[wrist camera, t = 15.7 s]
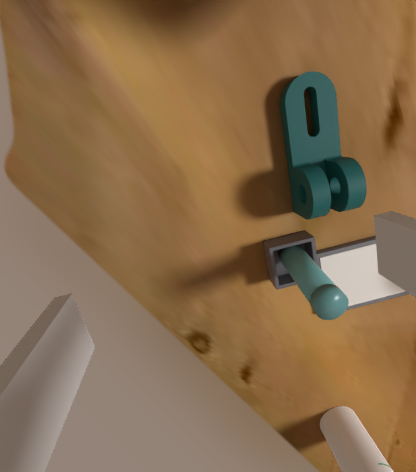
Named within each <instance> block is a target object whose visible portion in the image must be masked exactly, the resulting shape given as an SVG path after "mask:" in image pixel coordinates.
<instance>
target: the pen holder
mask: <svg viewBox="0 0 416 472" xmlns="http://www.w3.org/2000/svg"><path fill="white" fill-rule="evenodd" d="M295 245H299V246H301V247H302V248H303V250H304V251H305V252H306V253H307V254H308V255H309V256H310V257H311V258H312V260H313V261H314V262H315V263H316V264H317V265H318V261H317V254H316V246H315V239H314V237H313V236H312V235H311V234H309V233H308V232H306V231H305V230H304V231H300V232H296V233H292V234H288V235H284V236H280V237H277V238H273V239H269V240H265V241H263V246H264V251H265V257H266V262H267V267H268V273H269V278H270V281H271V282H272V284H273V285H274V287H275V288H276V289H281V288H285V287H289V286H293V285H296V282H295V281H294V280H293V278H292V277H291V275H290V274H289V272H288V271H287V270H286V268H285V267H284V265H283V264H282V262H281V261H280V256H279V255H278V252H277V250H279V249H283V248H287V247H291V246H295Z"/></svg>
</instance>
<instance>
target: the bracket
mask: <svg viewBox="0 0 416 472" xmlns="http://www.w3.org/2000/svg"><path fill="white" fill-rule="evenodd" d="M305 89H306V90H308V91H309V93H310V101H311V111H312V121H313V134H312V135H311V136H309V134H308V131H307V122H306V112H305V103H304V91H305ZM280 109H281V117H282V124H283V132H284V140H285V148H286V155H287V163H288V171H289V179H290V186H291V194H292V202H293V210H294V212H295V213H296V214H298V215H300V216H302V217H303V218H305V219H312V218H316V217H321V216H325V215H327V214H328V212H329V210H330V208H331V209H333V210H335V211H338V212H342V211H346V210H351V209H355V208H359V207H360V206H361V205H362V204H363V203H364V200H365V197H366V180H365V176H364V173H363V170H362V168H361V166H360V165H359V163H358V162H357V161H356V160H355V159H353V158H349V157H342V156H341V151H340V138H339V125H338V112H337V99H336V91H335V87H334V85H333V83H332V82H331V80H330V79H329V78H328V77H327V76H326V75H324V74H322V73H319V72H306V73H304V74H302V75H300V76H298V77H296V78H294V79H293V80H291V81H290V82H289V83H288V84H287V86H286V87H285V89H284V90H283V93H282V95H281V100H280Z"/></svg>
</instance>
